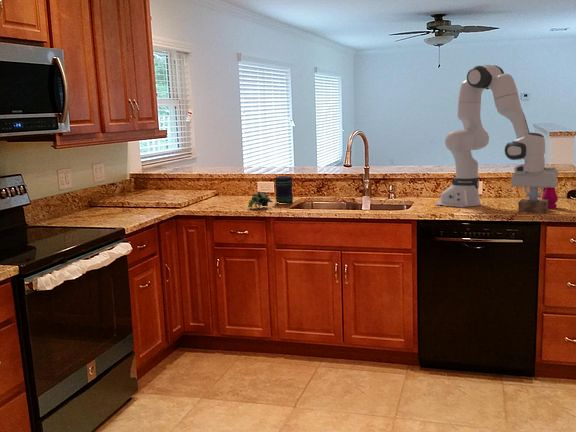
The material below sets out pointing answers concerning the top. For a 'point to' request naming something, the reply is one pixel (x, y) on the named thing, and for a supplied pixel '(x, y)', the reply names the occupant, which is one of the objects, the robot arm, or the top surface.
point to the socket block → (533, 206)
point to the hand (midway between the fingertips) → (533, 196)
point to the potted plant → (259, 199)
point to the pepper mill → (550, 197)
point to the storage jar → (284, 189)
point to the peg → (533, 194)
